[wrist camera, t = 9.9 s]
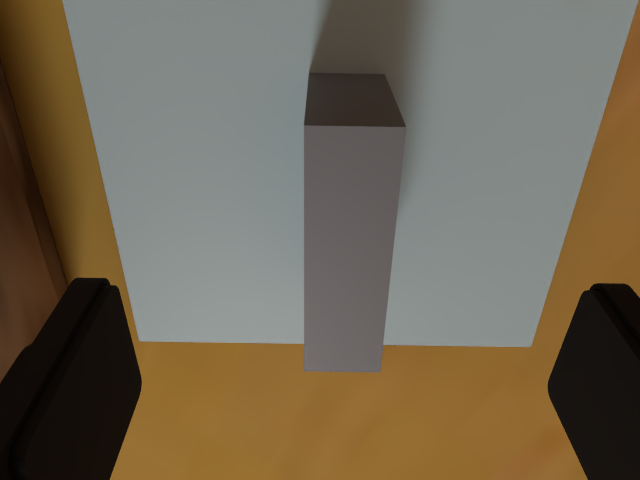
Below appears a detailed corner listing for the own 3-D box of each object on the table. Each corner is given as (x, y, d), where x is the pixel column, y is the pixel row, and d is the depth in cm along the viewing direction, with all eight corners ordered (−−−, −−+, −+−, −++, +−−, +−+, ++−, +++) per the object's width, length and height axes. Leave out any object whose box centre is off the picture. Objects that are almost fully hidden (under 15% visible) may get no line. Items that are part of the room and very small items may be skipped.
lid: (80, -62, 16) (-67, -53, 10) (615, -52, 16) (791, -38, 10) (153, 308, 24) (95, 440, 18) (514, 314, 24) (580, 446, 18)
